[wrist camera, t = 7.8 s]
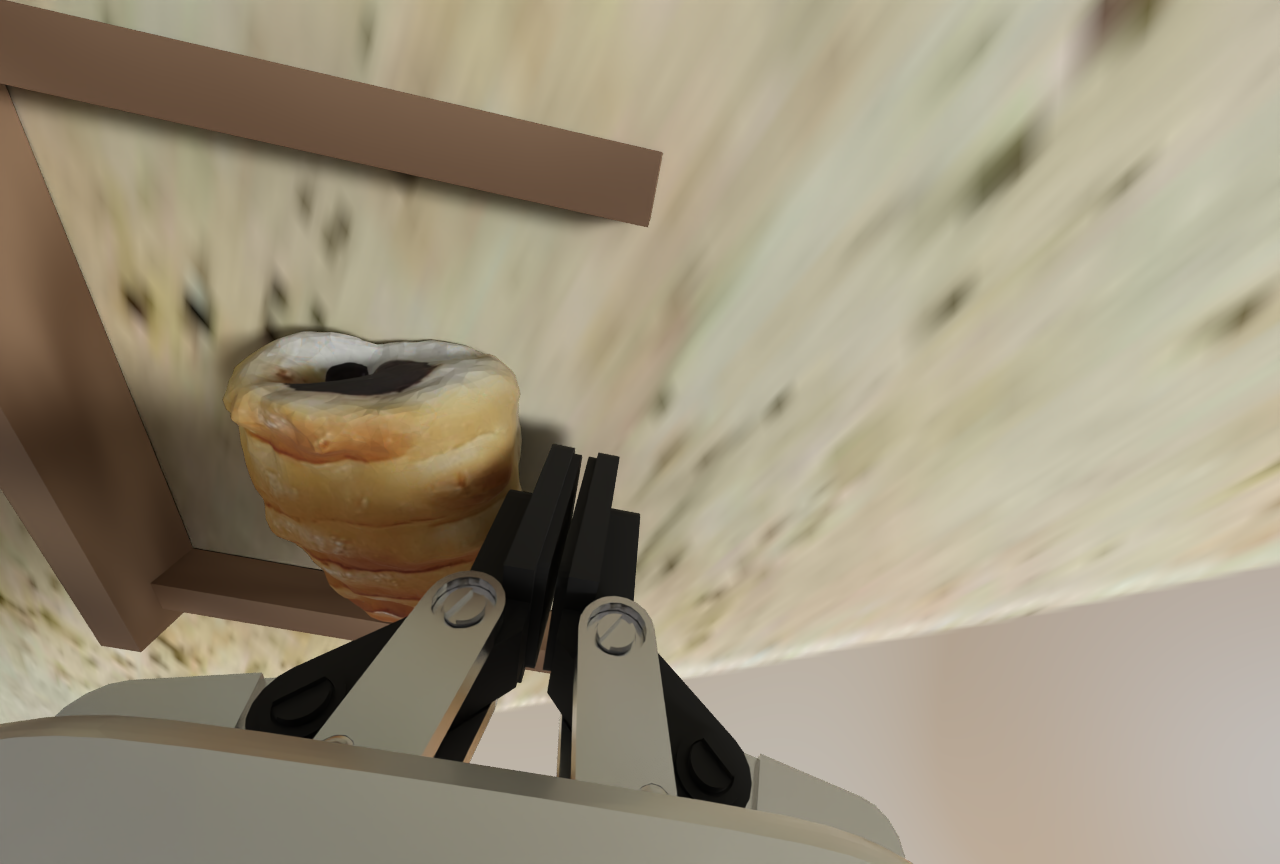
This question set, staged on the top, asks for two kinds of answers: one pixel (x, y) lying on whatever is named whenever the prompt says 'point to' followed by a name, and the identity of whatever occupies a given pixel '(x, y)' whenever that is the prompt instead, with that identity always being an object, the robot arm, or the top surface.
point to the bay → (82, 355)
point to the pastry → (378, 457)
